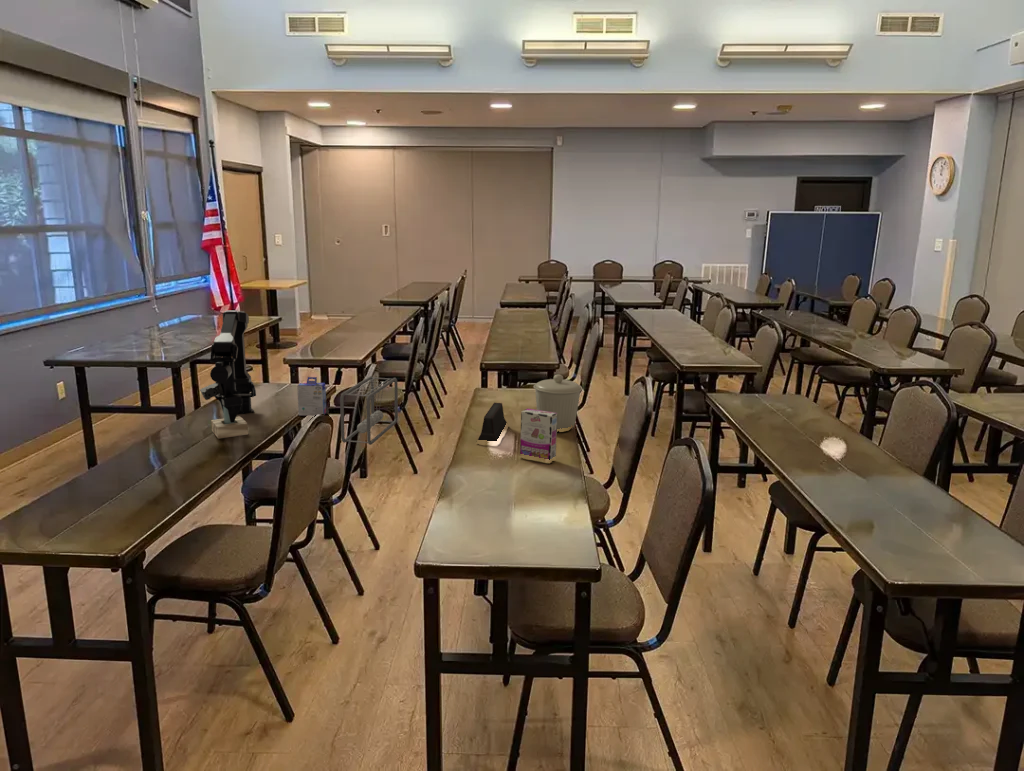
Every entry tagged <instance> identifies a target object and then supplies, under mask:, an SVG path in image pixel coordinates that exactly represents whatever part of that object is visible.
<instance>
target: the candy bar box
mask: <svg viewBox="0 0 1024 771" xmlns="http://www.w3.org/2000/svg"><path fill="white" fill-rule="evenodd" d="M557 435H558V433H557V413H553V412H548V411H541V410H537V409H533V408H526V409H524V410H521V411H520V442H519V443H520V445H519V446H520V447H519V455H520V454H524V455H529V456H534V457H539V458H544V459H549V460H550V459H552V458H553V457H555V456H556V457H557Z"/></svg>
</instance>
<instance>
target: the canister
mask: <svg viewBox="0 0 1024 771" xmlns="http://www.w3.org/2000/svg"><path fill="white" fill-rule="evenodd" d="M533 389H534V390H535V405H536V410H541V411H548V412H553V413H557V429H560V428H561V429H562V428H568V427H571V425H572V426H573V428H574V427H575V424H576V419H577V415H578V409H579V403H580V402H579V401H580V397H581V396H580V395H581V391H583V387H582V385H580V384H579V383H577V382H575V381H572V380H569V379H564V376H563V375H562V374H555V375H553V378H550V379H543V380H540V381H538V382H536V383H535V384H534V385H533Z"/></svg>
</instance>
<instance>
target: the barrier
mask: <svg viewBox="0 0 1024 771" xmlns="http://www.w3.org/2000/svg"><path fill="white" fill-rule="evenodd" d="M506 423H507V424H508V422H507V420H506V419H505V414H504V407H503V403H502V402H493V403H492V405H491V406H490V408H489V409H488V410H487V411H486V414H485V415H484V417H483V421H482V426H481V427H482V428H481V432H480V435H479V437H478V438H477V440H487V441H497V439H498V438H499V436H500V434H501V432H502V430H503V429H504V427H505V425H506Z"/></svg>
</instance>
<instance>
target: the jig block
mask: <svg viewBox="0 0 1024 771" xmlns="http://www.w3.org/2000/svg"><path fill="white" fill-rule="evenodd" d="M210 424H211V432H212V433H213V434H214V435H215V436H216V438H217V439H218V440H219V439H226V438H232V437H240V436H246V435H249V424H248V422H247V421H246V420H244V418H243V417H241V416H236V418H235V423H231V424H224V418H218V419H211V420H210Z"/></svg>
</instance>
